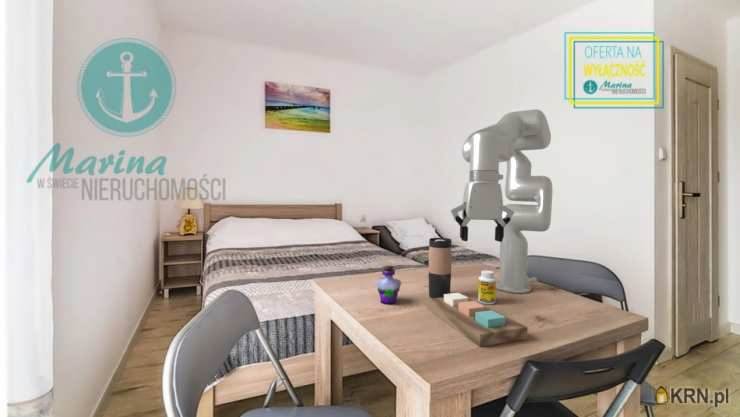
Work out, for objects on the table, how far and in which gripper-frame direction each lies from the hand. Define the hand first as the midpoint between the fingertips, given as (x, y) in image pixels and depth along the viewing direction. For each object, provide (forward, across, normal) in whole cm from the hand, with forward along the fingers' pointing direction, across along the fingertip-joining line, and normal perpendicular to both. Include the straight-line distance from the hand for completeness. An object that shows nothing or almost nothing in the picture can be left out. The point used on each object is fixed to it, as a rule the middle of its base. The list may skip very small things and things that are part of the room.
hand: (481, 240), depth 94 cm
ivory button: (+21, +3, -10) cm, 23 cm away
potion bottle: (+23, +22, -20) cm, 38 cm away
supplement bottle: (+23, -10, -18) cm, 31 cm away
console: (+23, +1, -2) cm, 23 cm away
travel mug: (+23, +4, -25) cm, 34 cm away
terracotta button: (+21, +1, -2) cm, 21 cm away
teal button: (+21, 0, +6) cm, 22 cm away
